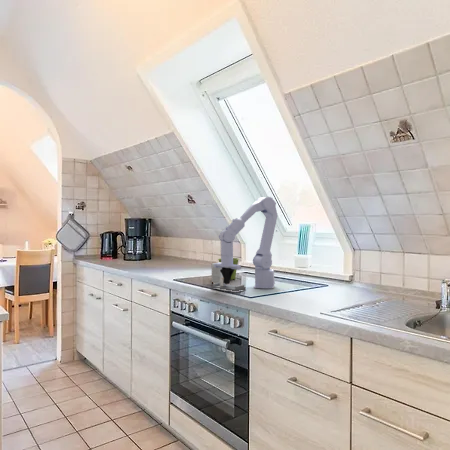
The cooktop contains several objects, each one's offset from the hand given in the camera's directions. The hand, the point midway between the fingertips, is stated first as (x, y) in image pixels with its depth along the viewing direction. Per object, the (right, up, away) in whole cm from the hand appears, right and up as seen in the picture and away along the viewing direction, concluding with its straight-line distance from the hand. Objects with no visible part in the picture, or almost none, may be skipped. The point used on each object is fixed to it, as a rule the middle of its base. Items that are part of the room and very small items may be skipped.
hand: (227, 283), depth 198 cm
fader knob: (-2, -1, +2) cm, 3 cm away
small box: (-4, -3, +19) cm, 19 cm away
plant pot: (+1, -2, +32) cm, 32 cm away
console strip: (+1, -3, 0) cm, 3 cm away
